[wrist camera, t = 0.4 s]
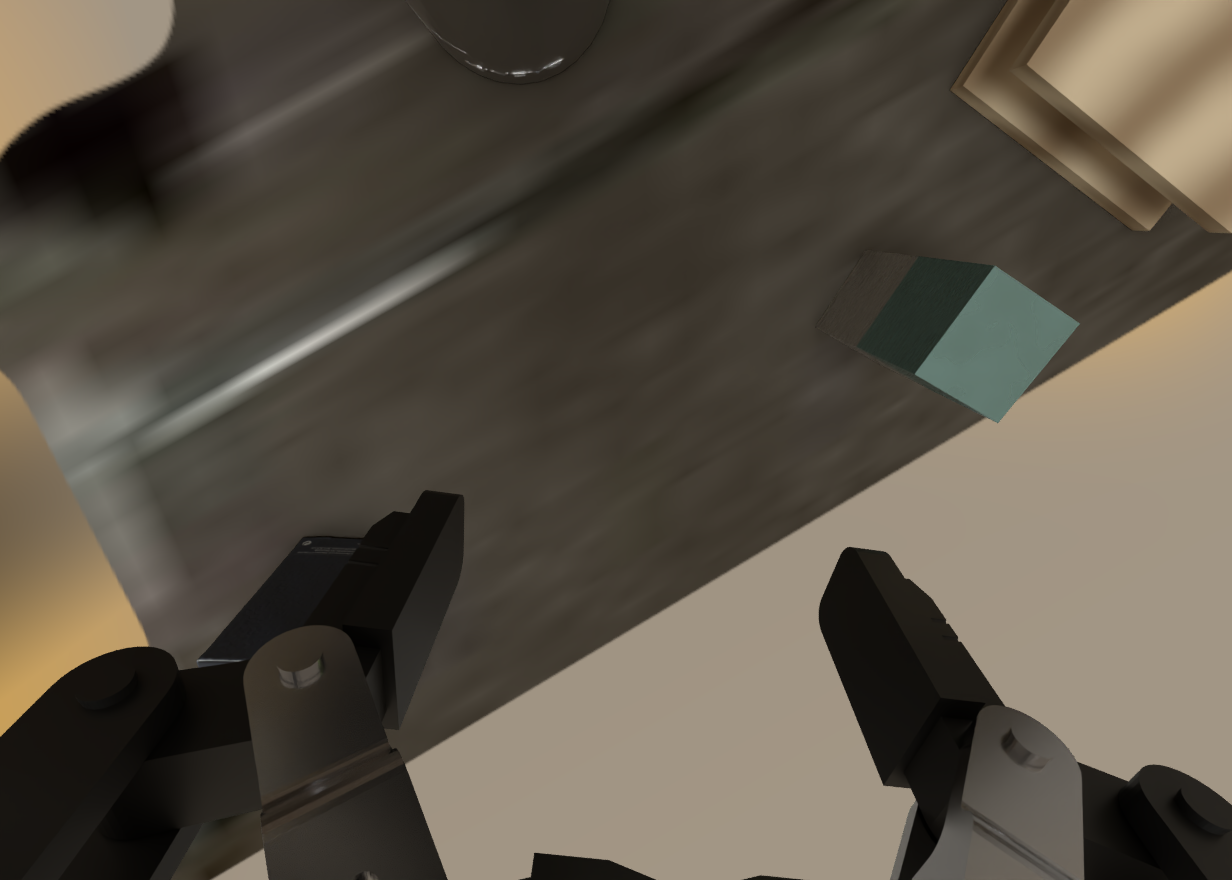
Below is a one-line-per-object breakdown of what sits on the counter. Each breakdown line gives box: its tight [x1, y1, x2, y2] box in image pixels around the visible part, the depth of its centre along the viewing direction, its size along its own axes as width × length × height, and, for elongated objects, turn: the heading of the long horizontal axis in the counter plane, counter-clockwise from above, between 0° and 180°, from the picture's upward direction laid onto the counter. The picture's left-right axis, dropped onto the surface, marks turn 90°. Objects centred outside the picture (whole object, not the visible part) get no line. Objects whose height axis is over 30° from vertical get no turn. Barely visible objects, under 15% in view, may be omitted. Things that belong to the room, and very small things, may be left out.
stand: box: [950, 0, 1232, 233], centre depth 24 cm, size 14×14×5 cm
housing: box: [815, 250, 1080, 423], centre depth 27 cm, size 5×5×10 cm
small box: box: [197, 537, 363, 667], centre depth 32 cm, size 11×6×10 cm, turn 176°
